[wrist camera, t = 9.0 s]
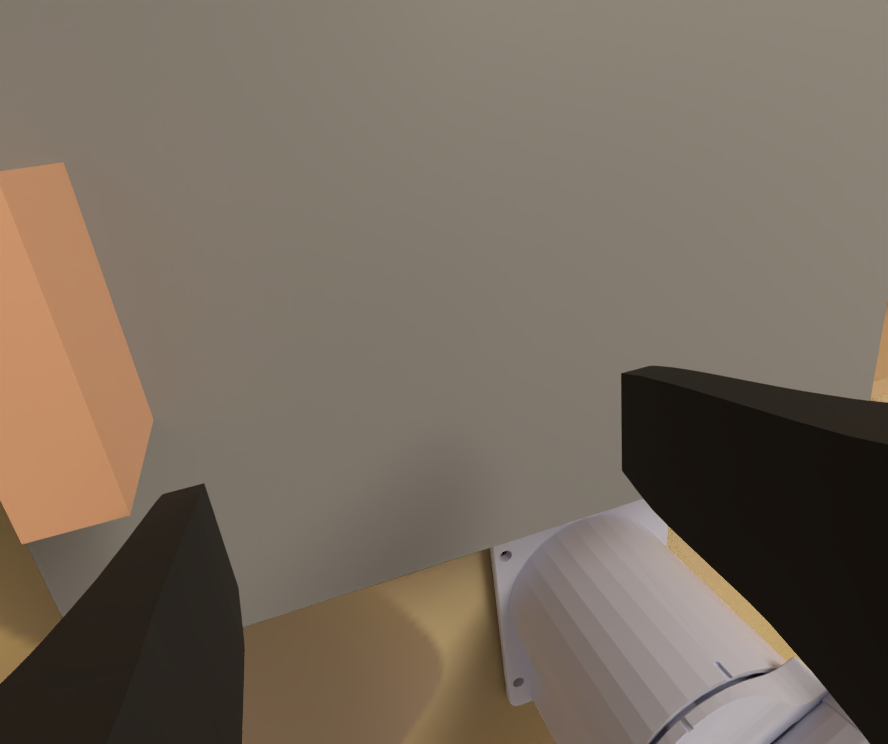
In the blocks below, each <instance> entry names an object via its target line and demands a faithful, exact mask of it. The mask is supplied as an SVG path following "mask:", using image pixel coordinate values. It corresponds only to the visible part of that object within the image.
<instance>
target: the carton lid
mask: <svg viewBox="0 0 888 744" xmlns="http://www.w3.org/2000/svg"><path fill="white" fill-rule="evenodd" d="M887 301H888V0H0V501H1V503H2V505H3V507H4V509H5V511H6V513H7V515H8V517H9V519H10V521H11V523H12V525H13V527H14V530H15V532H16V534H17V536H18V538H19V540H20V542H21V544H26V545H27V547H28V549H29V551H30V553H31V555H32V557H33V559H34V561H35V563H36V565H37V567H38V569H39V571H40V573H41V576H42V578H43V580H44V582H45V584H46V586H47V588H48V590H49V592H50V594H51V596H52V598H53V600H54V602H55V604H56V606H57V608H58V610H59V612H60V615H61V617H62V618H63V617H64V616H65V615H66V614H67V613H68V611H69V610H70V609H71V608H72V607H73V606H74V604H75V603H76V602H77V601H78V600H79V599H80V598H81V596H82V595H83V594H84V593H85V592H86V591H87V589H88V588H89V587H90V586H91V585H92V584H93V583H94V581H95V580H96V579H97V578H98V576H99V575H100V574H101V573H102V571H103V570H104V569H105V567H106V566H107V565H108V564H109V562H110V561H111V560H112V558H113V557H114V556H115V555H116V553H117V552H118V551H119V550H120V548H121V547H122V546H123V544H124V543H125V542H126V541H127V539H128V538H129V537H130V535H131V534H132V533H133V531H134V530H135V529H136V527H137V526H138V525H139V523H140V522H141V521H142V519H143V518H144V517H145V515H146V514H147V513H148V511H149V510H150V509H151V507H152V506H153V505H154V503H155V502H156V501H157V500H158V499H159V497H160V496H161V495H162V494H165V493H169V492H173V491H176V490H180V489H184V488H188V487H192V486H195V485H199V484H203V483H204V484H205V487H206V490H207V493H208V496H209V499H210V502H211V505H212V508H213V511H214V514H215V517H216V520H217V524H218V527H219V530H220V533H221V536H222V539H223V542H224V545H225V548H226V551H227V554H228V557H229V560H230V563H231V566H232V569H233V572H234V575H235V578H236V582H237V585H238V588H239V597H240V606H241V615H242V625H243V627H246V626H249V625H252V624H255V623H258V622H261V621H264V620H267V619H271V618H274V617H277V616H280V615H283V614H286V613H289V612H292V611H295V610H299V609H302V608H305V607H308V606H311V605H314V604H317V603H320V602H323V601H326V600H330V599H333V598H336V597H339V596H342V595H345V594H348V593H351V592H355V591H358V590H361V589H364V588H367V587H370V586H373V585H376V584H379V583H383V582H386V581H389V580H392V579H395V578H398V577H401V576H404V575H407V574H411V573H414V572H417V571H420V570H423V569H426V568H429V567H432V566H435V565H439V564H442V563H445V562H448V561H451V560H454V559H457V558H460V557H463V556H467V555H470V554H473V553H476V552H479V551H482V550H485V549H488V548H491V547H495V546H498V545H501V544H504V543H507V542H510V541H513V540H516V539H520V538H523V537H526V536H529V535H532V534H535V533H538V532H541V531H544V530H548V529H551V528H554V527H557V526H560V525H563V524H566V523H569V522H572V521H576V520H579V519H582V518H585V517H588V516H591V515H594V514H597V513H600V512H604V511H607V510H610V509H613V508H616V507H619V506H622V505H625V504H628V503H632V502H635V501H638V500H641V499H643V498H642V496H641V495H640V494H639V493H638V491H637V490H636V489H635V487H634V486H633V485H632V483H631V482H630V481H629V479H628V478H627V477H626V475H625V474H624V473H623V471H622V431H621V373H624V372H628V371H632V370H636V369H639V368H643V367H647V366H666V367H674V368H681V369H688V370H694V371H699V372H705V373H710V374H716V375H721V376H726V377H731V378H736V379H742V380H747V381H752V382H757V383H762V384H768V385H773V386H778V387H784V388H789V389H795V390H801V391H806V392H813V393H819V394H826V395H832V396H839V397H845V398H852V399H859V400H867V401H870V399H871V393H872V388H873V382H874V376H875V370H876V364H877V359H878V353H879V347H880V341H881V335H882V330H883V324H884V318H885V312H886V306H887Z"/></svg>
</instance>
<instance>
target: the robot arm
mask: <svg viewBox="0 0 888 744" xmlns="http://www.w3.org/2000/svg"><path fill="white" fill-rule="evenodd" d="M621 431H622V471H623V473H624V474H625V475H626V477H627V478H628V479H629V481H630V482H631V483H632V485H633V486H634V487H635V489H636V490H637V491H638V493H639V494H640V495H641V496H642V498H643V499H641V500H638V501H635V502H632V503H628V504H625V505H622V506H619V507H616V508H613V509H610V510H607V511H604V512H600V513H597V514H594V515H591V516H588V517H585V518H582V519H579V520H576V521H572V522H569V523H566V524H563V525H560V526H557V527H554V528H551V529H548V530H544V531H541V532H538V533H535V534H532V535H529V536H526V537H523V538H520V539H516V540H513V541H510V542H507V543H504V544H501V545H498V546H495V547H491V548H490V553H491V562H492V571H493V579H494V588H495V597H496V606H497V614H498V623H499V632H500V641H501V649H502V658H503V667H504V676H505V685H506V693H507V698H508V700H509V702H510V704H511V705H513V706H520V705H523V704H526V703H528V702H531V701H533V702H534V704H535V706H536V708H537V710H538V712H539V714H540V715H541V717H542V719H543V721H544V723H545V725H546V727H547V729H548V730H549V732H550V734H551V736H552V738H553V740H554V742H555V744H888V403H885V402H875V401H867V400H859V399H852V398H845V397H839V396H832V395H826V394H819V393H813V392H806V391H801V390H795V389H789V388H784V387H778V386H773V385H768V384H762V383H757V382H752V381H747V380H742V379H736V378H731V377H726V376H721V375H716V374H710V373H705V372H699V371H694V370H688V369H681V368H674V367H666V366H647V367H643V368H639V369H636V370H632V371H628V372H624V373H621ZM668 526H669V527H670V528H671V529H672V530H673V531H674V532H675V533H676V534H677V535H678V536H679V537H680V538H682V539H683V540H684V541H685V542H686V543H687V544H688V545H689V546H690V547H691V548H692V549H693V550H694V551H695V552H696V553H697V554H698V555H700V556H701V557H702V558H703V559H704V560H705V561H706V562H707V563H708V564H709V565H710V566H711V567H712V568H713V569H714V570H715V571H717V572H718V573H719V574H720V575H721V576H722V577H723V578H724V579H725V580H726V581H727V582H728V583H729V584H730V585H731V586H733V587H734V588H735V589H736V590H737V591H738V592H739V593H740V594H741V595H742V596H743V597H744V598H745V599H746V600H747V601H748V602H749V603H750V604H751V605H752V606H753V607H754V608H755V609H756V610H757V611H758V612H759V613H760V614H761V615H762V616H763V617H764V618H765V619H766V620H767V621H768V622H769V623H770V624H771V625H772V626H773V628H774V629H775V630H776V631H777V632H778V633H779V635H780V636H781V637H782V638H783V639H784V640H785V641H786V643H787V644H788V645H789V646H790V647H791V648H792V649H793V651H794V652H795V653H796V654H797V655H798V656H799V657H800V659H801V660H802V661H803V662H804V663H805V664H806V665H804V664H803V663H802V662H801V661H800V660H799V659H798V658H797V657H792V658H791V659H790V660H788V661H786V660H785V659H784V658H783V657H782V656H781V655H780V654H779V653H778V652H776V651H775V650H774V649H773V648H772V647H771V646H770V645H769V644H768V643H767V642H766V641H765V640H764V639H763V638H762V637H761V636H760V635H759V634H758V633H757V632H756V631H754V630H753V629H752V628H751V627H750V626H749V625H748V624H747V623H746V622H745V621H744V620H743V619H742V618H741V617H740V616H739V615H738V614H737V613H736V612H735V611H734V610H733V609H731V608H730V607H729V606H728V605H727V604H726V603H725V602H724V601H723V600H722V599H721V598H720V597H719V596H718V595H717V594H716V593H715V592H714V591H713V590H712V589H711V588H709V587H708V586H707V585H706V584H705V583H704V582H703V581H702V580H701V579H700V578H699V577H698V576H697V575H696V574H695V573H694V572H693V571H692V570H691V569H690V568H689V567H687V566H686V565H685V564H684V563H683V562H682V561H681V560H680V559H679V558H678V557H677V556H676V555H675V554H674V553H673V552H672V551H671V550H670V549H669V548H668V547H667V530H668ZM504 551H507V552H506V554H504V555H503V556H500V555H501V553H502V552H504ZM243 686H244V636H243V625H242V615H241V606H240V597H239V588H238V585H237V582H236V578H235V575H234V572H233V569H232V566H231V563H230V560H229V557H228V554H227V551H226V548H225V545H224V542H223V539H222V536H221V533H220V530H219V527H218V524H217V520H216V517H215V514H214V511H213V508H212V505H211V502H210V499H209V496H208V493H207V490H206V487H205V484H204V483H203V484H199V485H195V486H192V487H188V488H184V489H180V490H176V491H173V492H169V493H165V494H162V495H161V496H160V497H159V499H158V500H157V501H156V502H155V503H154V505H153V506H152V507H151V509H150V510H149V511H148V513H147V514H146V515H145V517H144V518H143V519H142V521H141V522H140V523H139V525H138V526H137V527H136V529H135V530H134V531H133V533H132V534H131V535H130V537H129V538H128V539H127V541H126V542H125V543H124V544H123V546H122V547H121V548H120V550H119V551H118V552H117V553H116V555H115V556H114V557H113V558H112V560H111V561H110V562H109V564H108V565H107V566H106V567H105V569H104V570H103V571H102V573H101V574H100V575H99V576H98V578H97V579H96V580H95V581H94V583H93V584H92V585H91V586H90V587H89V588H88V589H87V591H86V592H85V593H84V594H83V595H82V596H81V598H80V599H79V600H78V601H77V602H76V603H75V604H74V606H73V607H72V608H71V609H70V610H69V611H68V613H67V614H66V615H65V616H64V617H63V618H62V619H61V621H60V622H59V623H58V624H57V625H56V626H55V628H54V629H53V630H52V631H51V632H50V633H49V634H48V636H47V637H46V638H45V639H44V640H43V641H42V642H41V643H40V644H39V645H38V646H37V647H36V648H35V650H34V651H33V652H32V653H31V654H30V655H29V656H28V657H27V658H26V659H25V660H24V661H23V662H22V663H21V664H20V665H19V666H18V667H17V668H16V669H15V670H14V671H13V672H12V673H11V674H10V675H9V676H8V677H7V678H6V679H5V680H4V681H3V682H2V683H1V684H0V744H242V717H243Z"/></svg>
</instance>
